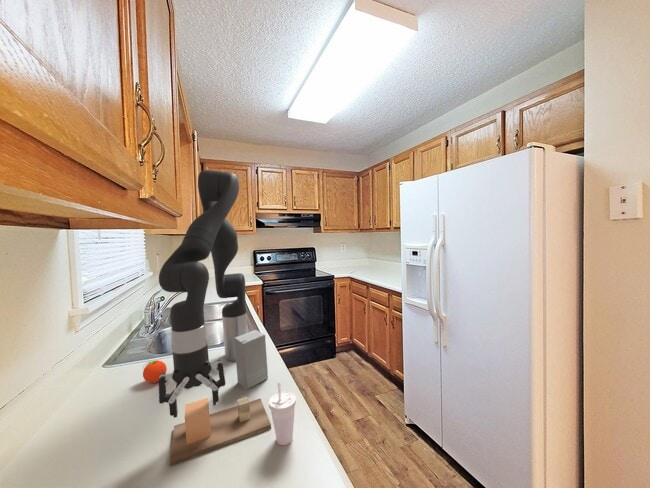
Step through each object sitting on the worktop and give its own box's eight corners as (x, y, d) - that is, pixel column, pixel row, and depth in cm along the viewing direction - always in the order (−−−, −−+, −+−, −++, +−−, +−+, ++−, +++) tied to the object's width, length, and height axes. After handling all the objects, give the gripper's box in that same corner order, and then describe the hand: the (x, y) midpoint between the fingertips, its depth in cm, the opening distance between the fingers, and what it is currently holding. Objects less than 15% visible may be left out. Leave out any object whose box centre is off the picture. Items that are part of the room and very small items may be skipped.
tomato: (135, 387, 89) (133, 366, 88) (150, 375, 96) (148, 356, 95) (158, 387, 88) (156, 366, 88) (171, 375, 95) (170, 356, 95)
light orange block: (187, 430, 67) (185, 404, 66) (210, 422, 69) (208, 397, 68) (186, 444, 62) (184, 417, 62) (211, 436, 64) (209, 409, 64)
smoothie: (269, 433, 65) (265, 378, 64) (294, 425, 68) (291, 372, 67) (273, 454, 59) (269, 393, 58) (301, 444, 62) (298, 385, 61)
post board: (174, 429, 68) (172, 408, 68) (260, 401, 78) (259, 383, 78) (170, 465, 58) (168, 441, 57) (271, 428, 67) (269, 407, 67)
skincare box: (258, 372, 94) (255, 328, 93) (269, 379, 89) (266, 333, 88) (235, 383, 88) (232, 336, 87) (246, 391, 83) (243, 341, 82)
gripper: (220, 333, 70) (225, 392, 72) (157, 345, 64) (163, 410, 65) (223, 343, 64) (228, 408, 65) (152, 359, 58) (159, 430, 59)
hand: (195, 409), depth 65 cm, fingers open, 8 cm apart
